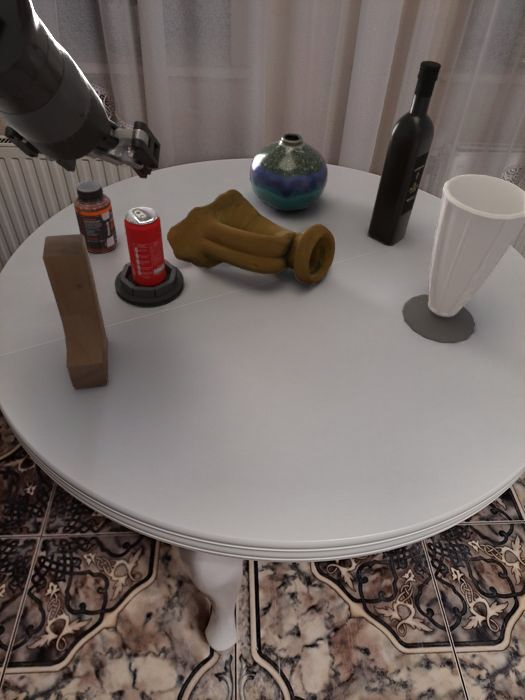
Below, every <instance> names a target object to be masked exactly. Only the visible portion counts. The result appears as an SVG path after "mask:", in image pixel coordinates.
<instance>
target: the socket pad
mask: <svg viewBox="0 0 525 700" xmlns="http://www.w3.org/2000/svg"><path fill="white" fill-rule="evenodd" d="M164 262H165V272H166V277H165V279H164V283H162V284H160V285H158V286H156V287H139V286H138V285H137V283H136V282H135V281H134V279H133V275H132V269H131V262H130V261H129V262H128V263H125V264H124V265H123V267H122V269H121V270H120V271H119V272H118V274H117V275H116V277H115V279H114V288H115V293H116V295H117V297H118V298H119V299H120V300H121V301H123V302H124V303H126V304H128V305H130V306H134V307H138V308H156V307H160V306H165V305H167V304H169V303H171V302H173V301H174V300H176V299H178V297H180V295H181V294H182V292H183V291H184V288H185V277H184V274H183V272H182V271H181V270H180V269H179V268H178V267H176V266H175V265H174V264H172V263H171V262H169V261H168V260H167V259H166V258H164Z"/></svg>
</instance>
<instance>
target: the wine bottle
mask: <svg viewBox="0 0 525 700" xmlns="http://www.w3.org/2000/svg"><path fill="white" fill-rule="evenodd" d="M441 68H442V64H441V63H439V62H437V61H433V60H423V61H421V62H420V64H419V71H418V73H417V81H416V84H415V89H414V93H413V97H412V101H411V104H410V108H409V110H408V111H407V112H406V113H404V114H403V115H402V116H401V117H400V118H399V119H398V120H397V121H396V123H395V124H394V126H393V127H392V130H391V132H390V137H389V139H388V144H387V149H386V152H385V153H386V154H385V158H384V162H383V165H382V171H381V175H380V179H379V184H378V188H377V192H376V196H375V201H374V203H373V204H374V205H373V209H372V214H371V217H370V222H369V227H368V231H367V234H368V236H369V237H371V238H372V239H375V240H377V241H379V242H381V243H383V244H384V245H388V246H392V245H394V244H396V243H397V242H399V241H400V240H401V239H403V238H404V237H405V235H406V233H407V230H408V227H409V222H410V218H411V215H412V212H413V209H414V205H415V202H416V198H417V196H418V191H419V188H420V185H421V182H422V177H423V174H424V172H425V167H426V164H427V161H428V157H429V154H430V150H431V147H432V143H433V140H434V135H435V125H434V122H433V120H432V118H431V117H430V115H429V114H428V112H429V108H430V105H431V101H432V98H433V93H434V90H435V85H436V82H437V81H438V78H439V74H440V70H441Z"/></svg>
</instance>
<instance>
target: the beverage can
mask: <svg viewBox="0 0 525 700" xmlns="http://www.w3.org/2000/svg"><path fill="white" fill-rule="evenodd" d="M123 224H124V225H123V226H124V231H125V236H126V244H127V249H128V255H129V263H130V262H131V269H132V275H133V279H134V281H135V282H136V283H137V285H138V286H139V287H156V286H158V285H160V284H162V283H164V279H165V277H166V272H165V262H164V259H165V254H164V243H163V234H162V222H161V218H160V216H159V213H158V211H157V210H156V209H153V208H151V207H147V206H139V207H138V206H137V207H134V208H131V209H129V210H127V212H125V214H124V219H123Z"/></svg>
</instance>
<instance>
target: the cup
mask: <svg viewBox="0 0 525 700" xmlns="http://www.w3.org/2000/svg"><path fill="white" fill-rule="evenodd" d="M524 224H525V190H524V189H522V188H520V187H519V186H518V185H516V184H514V183H512V182H510V181H508V180H504V179H502V178H500V177H495V176H491V175H486V174H472V173H467V174H461V175H455V176H454V177H451V178H450V179H448V180H447V181H445V182H444V185H443V188H442V195H441V199H440V203H439V209H438V213H437V219H436V224H435V228H434V229H435V230H434V236H433V243H432V250H431V256H430V264H429V275H428V276H429V277H428V294H420V295H417V296H413V297H411V298H410V299H408V300H407V301H406V302H405V303H404V305H403V308H402V315H403V320H404V321H405V323H406V324H407V325H408V326H409V328H410V329H411V330H412V331H413V332H415V333H417V334H418V335H421V336H422V337H423V338H424V339H428V340H431V341H435V342H437V343H448V344H450V343H451V344H455V343H459V342H462V341H465V340H467V339H468V338H470V337H471V336H472V335H473V334H474V333H475V329H476V322H475V319H474V317H473V315H472V313H471V312H470V311H469V310H468V309H467V308H466V307H465V306H466V304H467V303H468V302H469V301H471V300H472V298H473V297H474V295H475V294H476V293H477V292H478V290H479V289H480V288H481V287H482V285H483V284H484V283H485V282H486V280H488V278H489V277H490V275H491V274H492V272H493V271H494V269H496V267H497V265H498V264H499V263H500V261H501V260H502V258H503V257H504V256H505V255H506V253H507V251H508V249H509V248H510V247H511V245H512V244H513V242H514V240H515V239H516V238H517V236H518V234H519V232H520V231H521V230H522V228H523V226H524Z"/></svg>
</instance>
